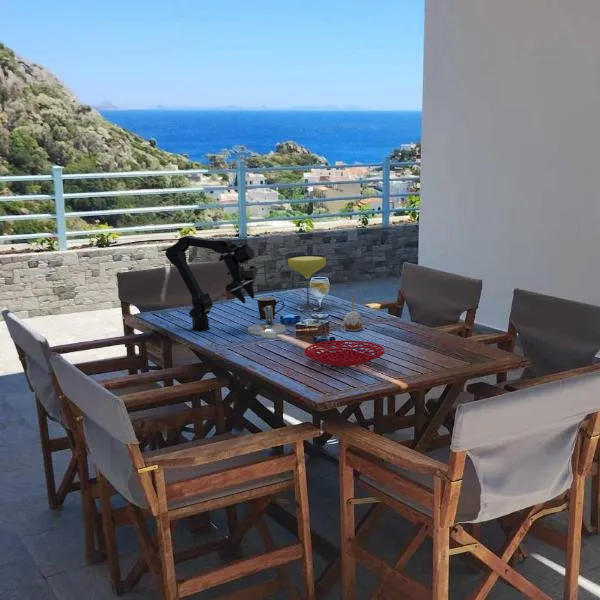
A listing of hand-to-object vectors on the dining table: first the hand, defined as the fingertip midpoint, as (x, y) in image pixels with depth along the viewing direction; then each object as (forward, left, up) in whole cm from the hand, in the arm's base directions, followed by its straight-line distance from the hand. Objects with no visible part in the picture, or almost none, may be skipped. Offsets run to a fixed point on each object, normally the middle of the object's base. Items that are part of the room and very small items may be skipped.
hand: (249, 300), depth 347 cm
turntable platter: (+7, +1, -13) cm, 15 cm away
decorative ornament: (+37, +24, -14) cm, 46 cm away
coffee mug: (-6, +24, -14) cm, 28 cm away
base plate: (+7, +1, -14) cm, 16 cm away
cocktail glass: (-3, +52, -14) cm, 54 cm away
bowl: (+59, -23, -14) cm, 65 cm away
